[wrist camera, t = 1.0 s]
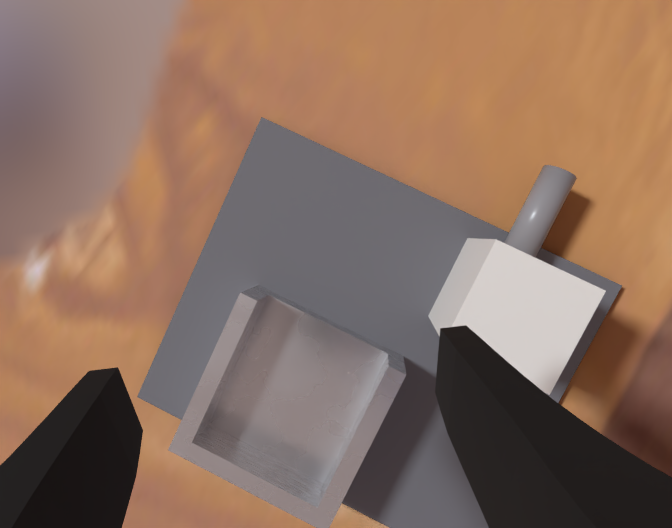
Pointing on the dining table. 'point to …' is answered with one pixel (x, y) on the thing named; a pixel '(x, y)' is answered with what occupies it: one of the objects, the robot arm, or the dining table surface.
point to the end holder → (288, 405)
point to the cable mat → (347, 304)
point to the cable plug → (521, 290)
